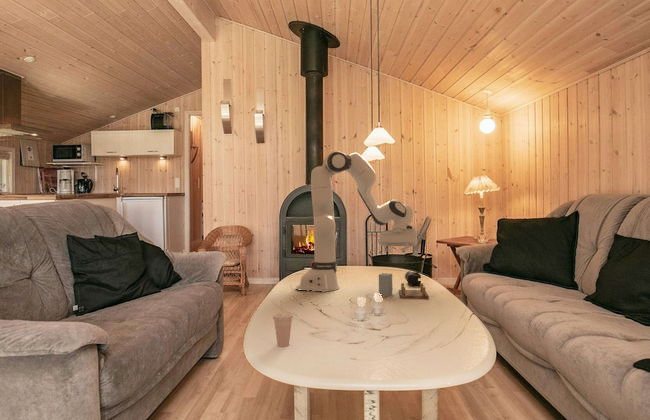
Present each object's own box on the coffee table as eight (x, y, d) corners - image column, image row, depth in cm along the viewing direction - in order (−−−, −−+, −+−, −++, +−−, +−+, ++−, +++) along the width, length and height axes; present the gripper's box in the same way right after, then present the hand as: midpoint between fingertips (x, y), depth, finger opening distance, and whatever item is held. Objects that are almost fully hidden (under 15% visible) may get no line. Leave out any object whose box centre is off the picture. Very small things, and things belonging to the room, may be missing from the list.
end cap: (404, 283, 232) (404, 271, 232) (417, 283, 232) (417, 270, 232) (407, 286, 222) (407, 274, 222) (421, 286, 222) (420, 274, 222)
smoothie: (283, 340, 139) (282, 298, 139) (297, 344, 135) (296, 300, 135) (269, 345, 134) (268, 301, 134) (283, 349, 130) (282, 304, 130)
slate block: (378, 295, 203) (378, 274, 203) (382, 293, 208) (382, 273, 207) (388, 296, 201) (388, 275, 201) (392, 294, 205) (392, 273, 205)
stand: (400, 298, 196) (399, 288, 196) (398, 292, 209) (398, 282, 209) (428, 298, 195) (428, 288, 195) (425, 292, 208) (425, 283, 208)
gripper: (380, 226, 226) (373, 247, 218) (417, 226, 216) (412, 248, 208) (383, 234, 230) (377, 254, 222) (420, 234, 220) (415, 255, 212)
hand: (394, 251), depth 215 cm, fingers open, 8 cm apart
